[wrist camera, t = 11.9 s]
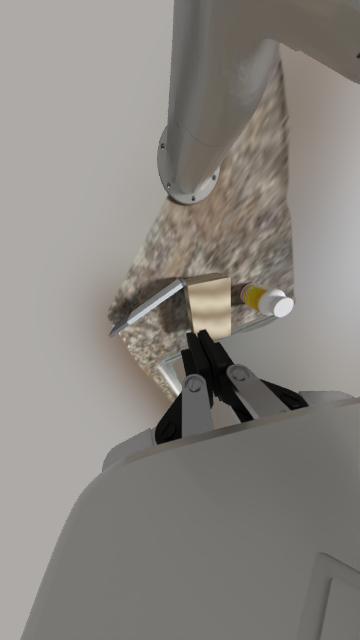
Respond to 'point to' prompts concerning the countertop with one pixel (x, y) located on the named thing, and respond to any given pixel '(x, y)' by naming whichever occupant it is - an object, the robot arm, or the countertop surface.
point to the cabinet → (209, 304)
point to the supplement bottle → (266, 299)
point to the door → (148, 305)
